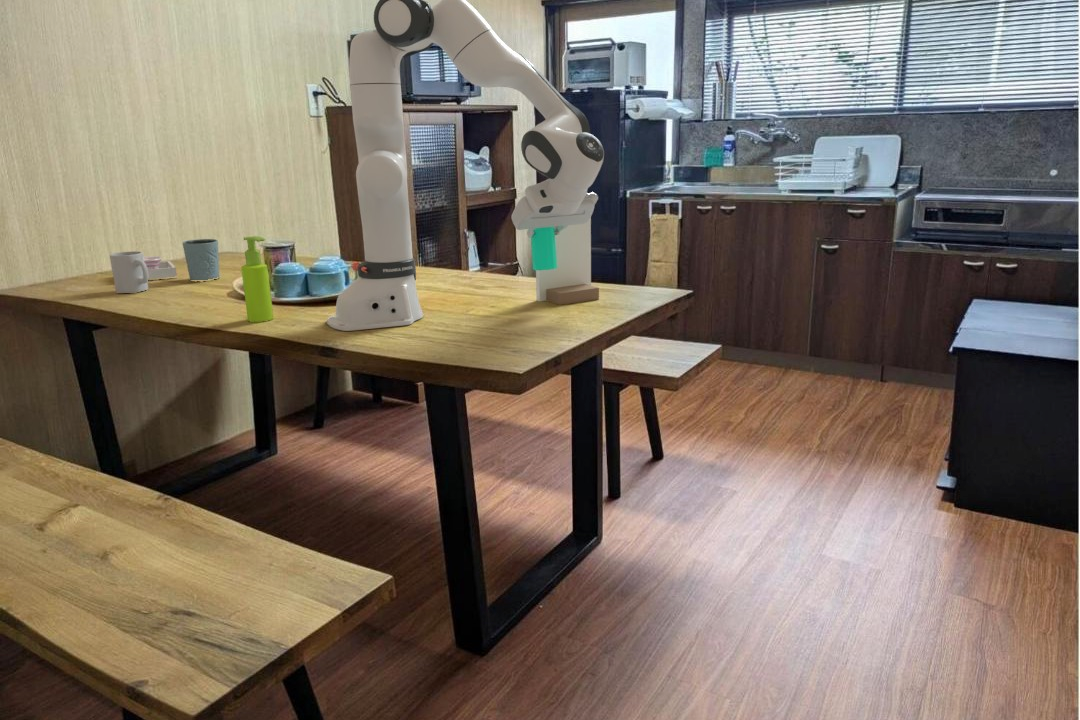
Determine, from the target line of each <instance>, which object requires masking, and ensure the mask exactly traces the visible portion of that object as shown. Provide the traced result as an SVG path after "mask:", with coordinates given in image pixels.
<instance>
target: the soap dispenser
mask: <svg viewBox="0 0 1080 720" xmlns="http://www.w3.org/2000/svg"><path fill="white" fill-rule="evenodd" d="M243 241H246V242H247V243H246V244H247V249H246V250H245V251H244V258H245V264H244V265H241V267H240V269H241V271H240V272H241V278H242V284H243V292H244V300H245V308H246V316H247V317H246V318H247V320H248V321H247V322H249V321H250V322H249V323H263V322H262V321H266V322H269V321H268V320H270V321H272V320H271V319H273V318H274V311H273V302H272V293H271V286H270V276H269V269H268V265H267V264H265V263H262V258H261V257H262V256H261V251H260V250H259V249H257V247H256V242H257V243H258V242H265V241H266V239H265V238H264V237H261V236H256V235H253V236H247V237H246V236H245V237H243ZM273 320H274V319H273Z"/></svg>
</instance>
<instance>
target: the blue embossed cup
mask: <svg viewBox="0 0 1080 720" xmlns="http://www.w3.org/2000/svg"><path fill="white" fill-rule="evenodd" d="M182 247H183V252H184V258H185V261H186V267H187V271H188V276H189V281H190V280H208V279H213V278H217V277H219V276H221V275H220V263H219V262H220V259H219V258H220V256H219V242H218V240H217V239H213V238H212V239H211V238H203V239H189V240H184V241H182Z"/></svg>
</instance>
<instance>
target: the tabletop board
mask: <svg viewBox="0 0 1080 720" xmlns="http://www.w3.org/2000/svg"><path fill="white" fill-rule="evenodd" d="M591 217H592V216H591ZM591 217H590V219H589V221H588V222H586V223H585V224H577V225H568V226H567V227H566V228H565V229H563V230H562V231H560V233H559V235H555V244H556V259H557V268H556V269H550V270H535V284H536V285H535V287H536V289H535V290H536V291H535V292H536V294H535V295H536V301H537V302H549V303H553V304H556V305H558V306H562V305H568V304H569V305H570V304H576V303H582V302H588V301H589V302H590V301H595V300H600V288H599V287H597V286H595V285H592V233H591V232H592V230H591V229H592V228H591V227H592V226H591V225H592V218H591Z"/></svg>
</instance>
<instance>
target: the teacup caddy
mask: <svg viewBox="0 0 1080 720" xmlns="http://www.w3.org/2000/svg"><path fill="white" fill-rule="evenodd" d="M159 263H160V264H159V269H149V270H148V279H156V278H165V277H175V276H177V277H178V275H177V268H176V266H175V265H174V264H173V262H171V260H166V261H160V262H159Z"/></svg>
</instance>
